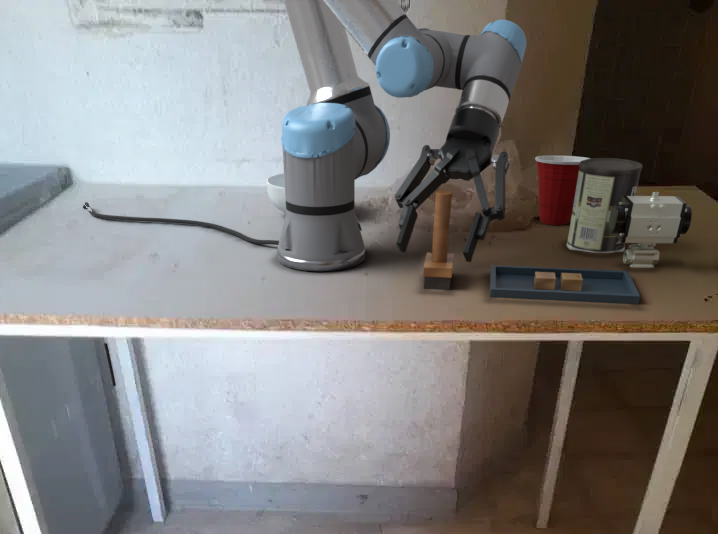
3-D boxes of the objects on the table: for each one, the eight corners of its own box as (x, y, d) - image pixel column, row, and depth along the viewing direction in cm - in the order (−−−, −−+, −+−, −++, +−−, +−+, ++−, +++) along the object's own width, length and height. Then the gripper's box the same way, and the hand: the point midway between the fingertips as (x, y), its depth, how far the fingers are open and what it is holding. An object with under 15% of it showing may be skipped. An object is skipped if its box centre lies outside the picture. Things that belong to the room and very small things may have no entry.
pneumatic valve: (600, 262, 125) (614, 188, 118) (670, 263, 124) (688, 188, 117) (607, 273, 121) (623, 196, 114) (679, 274, 120) (700, 197, 113)
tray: (489, 300, 111) (490, 289, 110) (489, 275, 120) (490, 264, 119) (637, 308, 108) (640, 296, 107) (625, 281, 117) (628, 270, 116)
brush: (422, 292, 114) (427, 198, 106) (425, 276, 120) (430, 186, 112) (450, 293, 113) (457, 199, 105) (452, 278, 119) (459, 187, 111)
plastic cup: (582, 215, 150) (593, 151, 143) (582, 230, 141) (594, 163, 134) (528, 212, 152) (536, 149, 145) (525, 226, 143) (534, 160, 136)
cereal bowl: (333, 229, 143) (333, 191, 139) (255, 222, 147) (253, 185, 143) (358, 207, 156) (359, 172, 152) (286, 202, 161) (284, 168, 156)
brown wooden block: (534, 289, 113) (536, 277, 112) (533, 282, 115) (535, 271, 114) (554, 290, 113) (556, 278, 112) (552, 283, 115) (554, 272, 114)
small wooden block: (560, 290, 112) (562, 279, 111) (559, 283, 115) (561, 272, 114) (580, 291, 112) (583, 279, 111) (579, 284, 114) (581, 273, 113)
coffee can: (621, 240, 135) (638, 158, 127) (627, 257, 127) (646, 170, 119) (564, 237, 137) (577, 156, 129) (566, 254, 129) (581, 168, 121)
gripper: (551, 143, 112) (508, 275, 110) (415, 133, 121) (373, 255, 119) (547, 109, 105) (502, 249, 103) (403, 101, 114) (358, 229, 112)
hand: (433, 252), depth 111 cm, fingers open, 10 cm apart
